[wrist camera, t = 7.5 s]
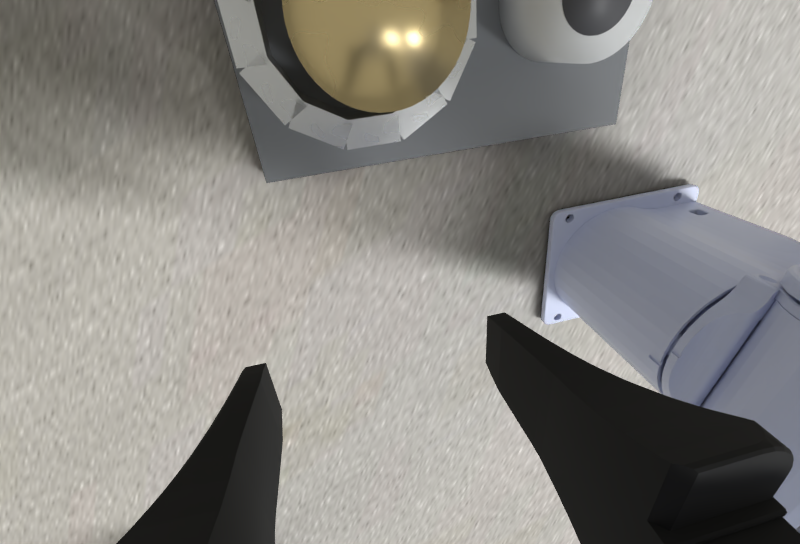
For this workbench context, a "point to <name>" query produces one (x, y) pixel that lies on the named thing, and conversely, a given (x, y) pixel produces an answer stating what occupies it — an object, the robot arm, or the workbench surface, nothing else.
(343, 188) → the workbench surface
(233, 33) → the socket collar
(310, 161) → the flange plate
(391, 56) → the brass cylinder
